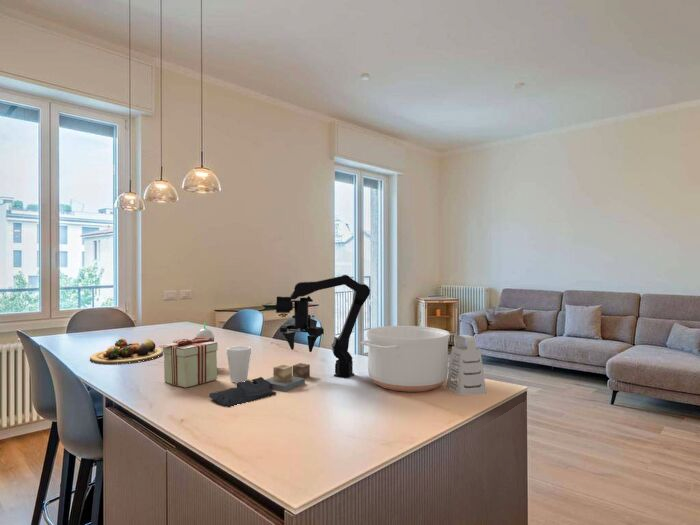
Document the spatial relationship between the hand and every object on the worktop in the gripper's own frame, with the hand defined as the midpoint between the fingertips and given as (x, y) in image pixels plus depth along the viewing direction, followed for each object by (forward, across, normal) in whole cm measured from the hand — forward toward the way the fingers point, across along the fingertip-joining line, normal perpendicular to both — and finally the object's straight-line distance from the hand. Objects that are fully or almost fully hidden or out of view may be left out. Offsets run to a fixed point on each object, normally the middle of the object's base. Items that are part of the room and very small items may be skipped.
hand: (301, 350), depth 177 cm
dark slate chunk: (+11, +3, +31) cm, 33 cm away
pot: (+11, -41, -14) cm, 45 cm away
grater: (+11, -63, -17) cm, 66 cm away
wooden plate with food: (+11, +96, +14) cm, 98 cm away
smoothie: (+11, +47, +9) cm, 49 cm away
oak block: (+9, -1, +13) cm, 16 cm away
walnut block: (+11, 0, 0) cm, 11 cm away
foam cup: (+11, +18, +17) cm, 27 cm away
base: (+11, -1, +13) cm, 17 cm away
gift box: (+11, +35, +28) cm, 46 cm away
